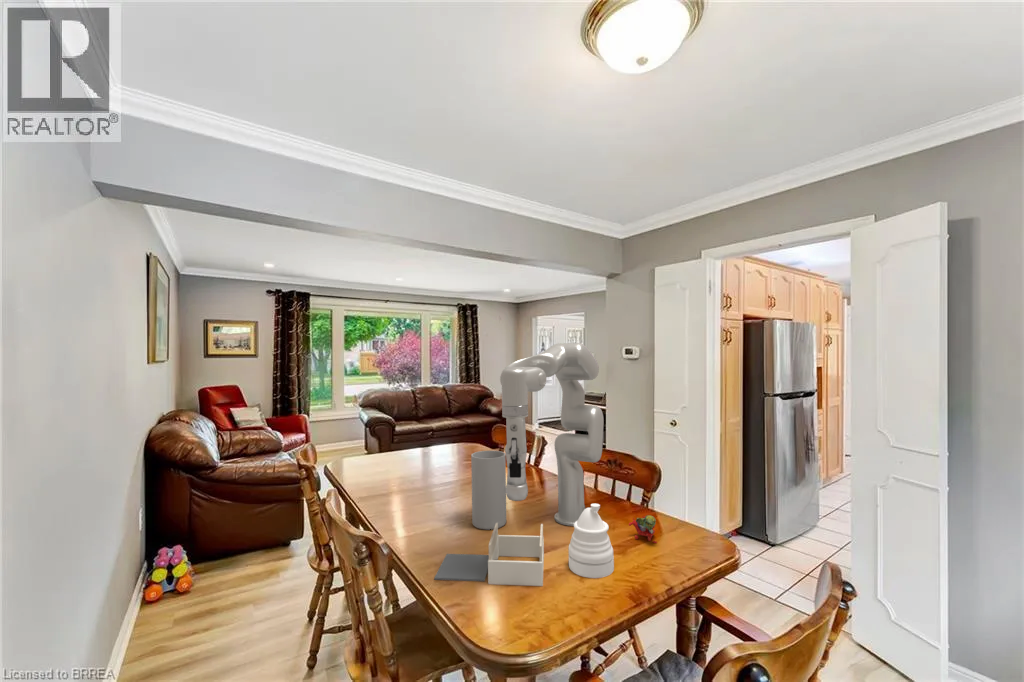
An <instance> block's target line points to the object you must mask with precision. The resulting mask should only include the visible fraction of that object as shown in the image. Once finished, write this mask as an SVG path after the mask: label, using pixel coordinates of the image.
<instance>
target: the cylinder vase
mask: <svg viewBox="0 0 1024 682" xmlns="http://www.w3.org/2000/svg"><path fill="white" fill-rule="evenodd" d="M470 459H471V461H470V462H471V464H470V465H471V468H470V469H471V521H472V522H471V523H472V525H473V526H474V527H475V528H477V529H480V530H487V531H488V530H490V529H491V530H494V527H495V524H496V523H498V529H500V528H502V527H504V526H505V525H506V524H507V495H506V485H507V475H506V474H507V472H506V471H507V467H506V466H507V460H506V452H505V451H500V450H482V451H475V452H473V453H471V457H470ZM491 530H490V531H491Z"/></svg>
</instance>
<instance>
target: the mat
mask: <svg viewBox="0 0 1024 682" xmlns="http://www.w3.org/2000/svg"><path fill="white" fill-rule="evenodd" d="M488 560H489V554H475V553H474V554H470V553H469V554H467V553H466V554H465V553H446V554H445V557H444V558H443V560H442V562H441V564H440V567H439V568H438V570H437V572H436V574H435V575H434V579H433V580H437V581H458V582H459V581H461V582H463V581H465V582H485V581H486V579H487V576H488Z"/></svg>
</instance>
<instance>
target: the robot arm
mask: <svg viewBox="0 0 1024 682" xmlns="http://www.w3.org/2000/svg"><path fill="white" fill-rule="evenodd" d="M599 370H600V368H599V363H598V360H597V359H596V357H595V356H594V355H593V353H592V351H590V349H589V348H588V347H587V346H586V345H584V344H583V343H581V342H563V343H559V342H558V343H555V344H552V345H551V346H549V347H548V348H547V349H545V350H544V351H542V352H540V353H538V354H534V355H531V356H528V357H524V358H521V359H518V360H516V361H513V362H511V363H509V364H508V365H507V366H505V367H504V369H502V371H501V374H500V376H499V381H500V385H501V409H502V410H501V411H502V412H501V413H502V415H501V416H502V418H505V419H506V420H505V421H506V425H505V426H506V444H507V450H508V452H509V451H510V452H509V453H510V463H509V469H510V477H511V478H520V477H521V463H520V452H522V453H524V452H525V446H526V447H527V433H526V431H527V426H526V418H527V417H529V396H528V395H529V393H530V392H539V391H541V390H543V389H544V388H545V386H546V384H547V379H548V378H550V377H551V378H552V377H553V376H554V375H555V376H556V378H557V380H558V383H559V384H560V388H561V392H562V397H561V398H562V399H561V410H560V411H561V412H560V423H561V426H562V428H564V429H566V430H570V431H571V430H572V431H580V432H582V431H583V432H587V433H588V434H581V433H573V432H571V433H569V432H568V433H567V432H565V433H561V434H559V435H557V436H556V438H555V439H554V444H553V446H554V452H555V453H554V454H555V456H556V457H555V458H556V463H557V464H556V465H557V499H558V500H557V501H558V502H557V503H558V504H557V505H558V507H557V508H558V512H556V513H555V514H554V516H553V517H554V521H555V522H557V523H558V524H561V525H563V526H568V527H569V526H571V527H574V523H575V522H576V521H577V520H578V519H579V517H580V515H581V514H582V512H583V511H584V510H585V509H586V508H587V507H586V505H585V483H584V481H585V480H584V477H585V476H584V470H583V467H582V465H581V464H580V462H586V463H597V462H599V461H600V460H601V458H602V455H603V454H602V453H603V441H604V424H605V423H604V421H605V420H604V413H603V411H602V409H601V407H599V406H598V405H597V406H596V405H594V404H593V405H590V404H586V403H585V402H586V401H585V399H586V398H585V395H586V392H585V390H584V388H583V386H582V384H581V383H580V381H592V380H595V379H596V378H598V375H599ZM528 392H529V393H528ZM509 448H510V450H509ZM516 449H518V452H516ZM516 454H518V456H517V455H516Z"/></svg>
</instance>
